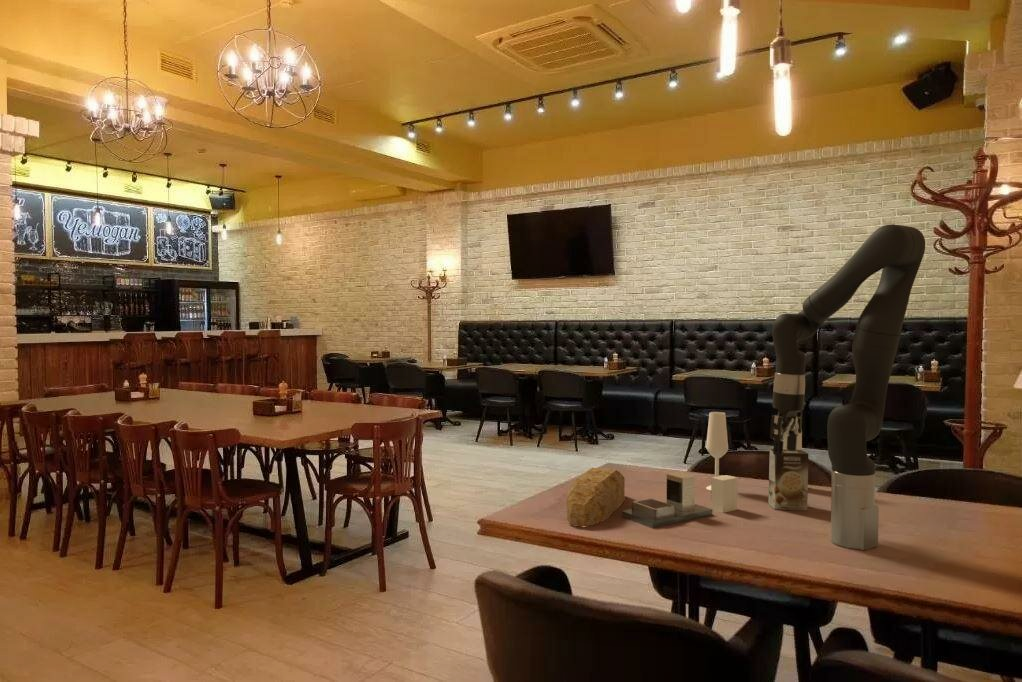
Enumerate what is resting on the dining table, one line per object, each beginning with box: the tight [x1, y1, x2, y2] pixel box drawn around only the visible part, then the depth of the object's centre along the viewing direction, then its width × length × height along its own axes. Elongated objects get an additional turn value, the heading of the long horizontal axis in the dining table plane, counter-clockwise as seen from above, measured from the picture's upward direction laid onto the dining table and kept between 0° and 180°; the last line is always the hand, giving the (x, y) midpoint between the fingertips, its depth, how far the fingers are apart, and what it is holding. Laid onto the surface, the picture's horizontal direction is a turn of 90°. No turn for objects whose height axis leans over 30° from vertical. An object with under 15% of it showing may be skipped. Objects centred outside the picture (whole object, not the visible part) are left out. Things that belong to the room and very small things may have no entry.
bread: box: [566, 467, 626, 527], centre depth 191 cm, size 36×11×10 cm, turn 156°
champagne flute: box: [705, 411, 729, 492], centre depth 213 cm, size 7×7×24 cm
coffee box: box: [767, 448, 810, 511], centre depth 192 cm, size 9×6×16 cm
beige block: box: [710, 474, 739, 513], centre depth 190 cm, size 5×6×9 cm
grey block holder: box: [621, 471, 713, 529], centre depth 184 cm, size 12×22×10 cm, turn 121°
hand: (784, 452), depth 176 cm, fingers open, 8 cm apart
